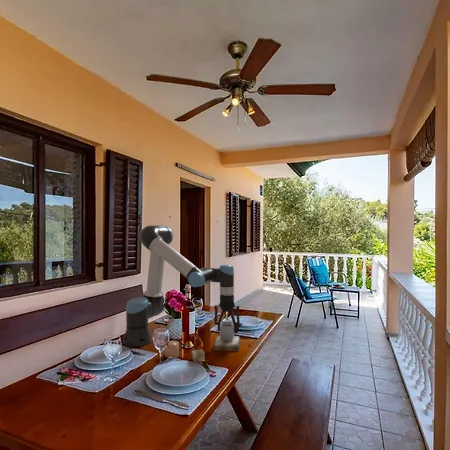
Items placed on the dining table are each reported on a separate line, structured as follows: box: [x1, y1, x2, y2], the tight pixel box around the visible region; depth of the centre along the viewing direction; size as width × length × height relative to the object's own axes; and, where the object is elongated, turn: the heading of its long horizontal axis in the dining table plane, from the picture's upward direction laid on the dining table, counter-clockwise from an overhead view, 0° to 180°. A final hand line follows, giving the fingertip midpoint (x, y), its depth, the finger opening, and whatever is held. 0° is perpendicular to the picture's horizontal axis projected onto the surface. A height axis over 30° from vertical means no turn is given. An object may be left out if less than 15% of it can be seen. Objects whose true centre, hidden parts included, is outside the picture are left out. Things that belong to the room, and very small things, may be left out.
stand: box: [212, 335, 241, 352], centre depth 165 cm, size 13×13×3 cm
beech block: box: [191, 348, 206, 363], centre depth 147 cm, size 5×5×4 cm
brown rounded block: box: [164, 340, 180, 359], centre depth 153 cm, size 7×7×6 cm
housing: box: [220, 321, 233, 341], centre depth 165 cm, size 7×6×8 cm
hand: (227, 337), depth 165 cm, fingers closed on housing, 6 cm apart
